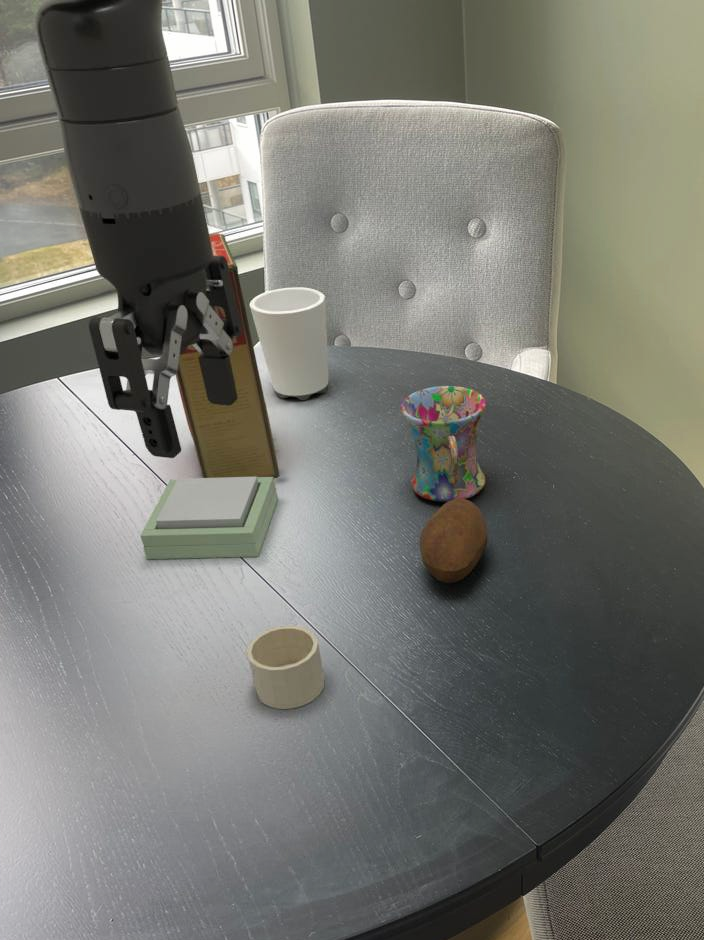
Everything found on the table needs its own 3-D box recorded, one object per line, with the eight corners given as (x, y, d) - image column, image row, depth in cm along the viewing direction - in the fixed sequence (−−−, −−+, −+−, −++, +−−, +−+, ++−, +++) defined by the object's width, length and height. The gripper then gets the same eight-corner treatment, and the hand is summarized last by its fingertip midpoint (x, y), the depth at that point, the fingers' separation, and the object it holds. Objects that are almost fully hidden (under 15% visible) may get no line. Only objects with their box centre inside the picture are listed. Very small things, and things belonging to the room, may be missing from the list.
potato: (414, 600, 95) (409, 541, 91) (429, 537, 104) (424, 480, 100) (483, 601, 95) (480, 542, 90) (491, 538, 104) (489, 480, 99)
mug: (404, 474, 115) (396, 390, 109) (481, 465, 116) (477, 381, 110) (417, 526, 106) (409, 438, 100) (500, 516, 107) (497, 428, 101)
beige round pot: (250, 710, 84) (240, 670, 81) (263, 665, 88) (254, 626, 86) (319, 708, 84) (311, 668, 81) (328, 664, 88) (321, 624, 85)
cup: (252, 391, 136) (235, 300, 128) (310, 370, 141) (296, 281, 133) (292, 412, 130) (276, 318, 122) (351, 389, 135) (339, 298, 127)
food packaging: (193, 443, 124) (143, 240, 108) (266, 430, 126) (227, 229, 111) (203, 491, 114) (149, 276, 98) (282, 477, 116) (242, 263, 101)
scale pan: (158, 531, 103) (155, 520, 102) (180, 489, 110) (177, 478, 109) (242, 529, 102) (240, 518, 101) (259, 487, 109) (256, 476, 108)
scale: (146, 559, 103) (139, 535, 101) (175, 502, 112) (169, 479, 111) (258, 556, 103) (253, 532, 101) (278, 499, 112) (273, 476, 110)
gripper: (146, 163, 67) (198, 384, 77) (17, 222, 57) (96, 469, 67) (243, 166, 65) (284, 391, 76) (129, 226, 55) (193, 480, 65)
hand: (196, 427), depth 71 cm, fingers open, 8 cm apart
